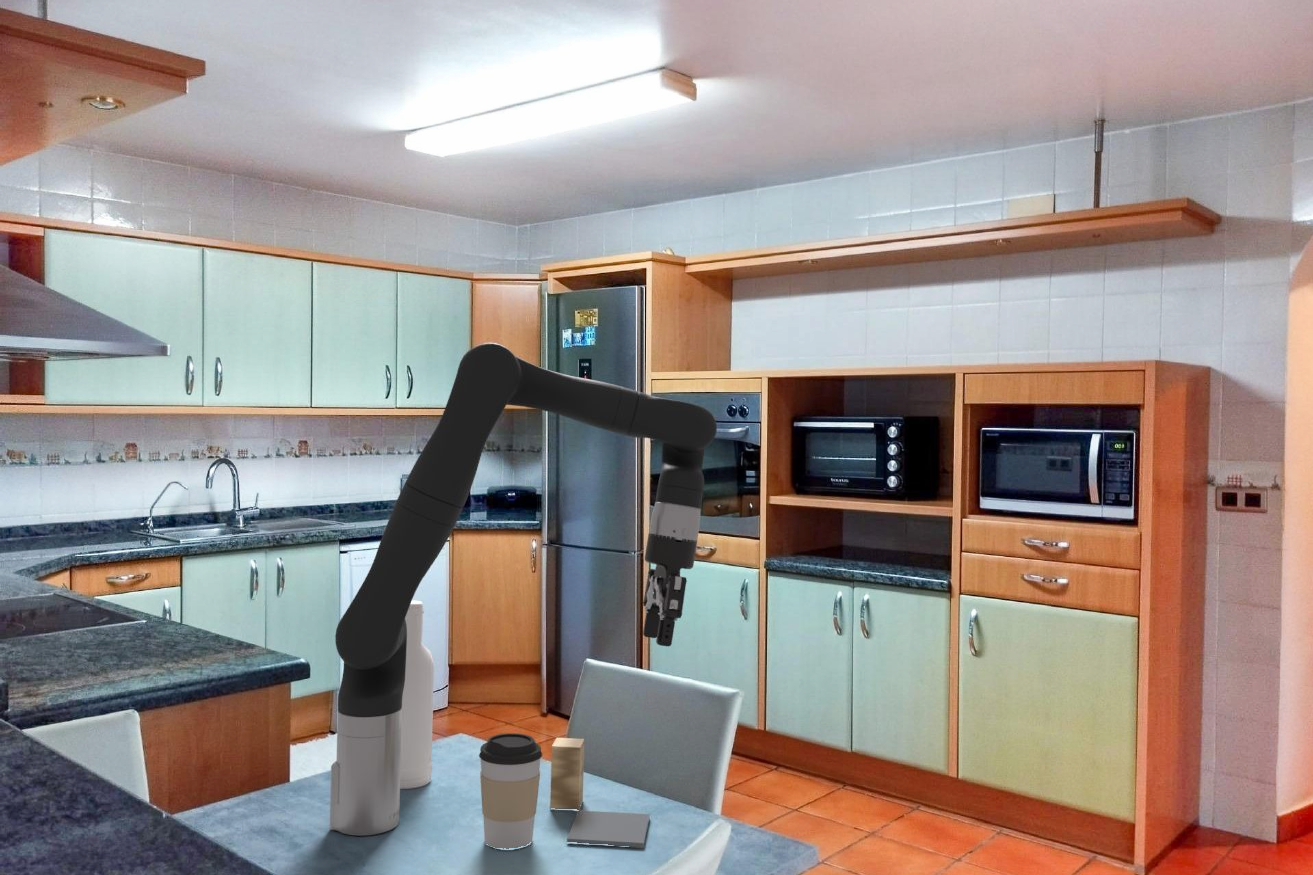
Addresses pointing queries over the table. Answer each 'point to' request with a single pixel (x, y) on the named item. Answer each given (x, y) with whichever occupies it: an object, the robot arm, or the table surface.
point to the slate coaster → (610, 828)
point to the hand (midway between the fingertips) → (656, 641)
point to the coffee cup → (509, 789)
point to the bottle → (416, 705)
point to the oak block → (567, 773)
